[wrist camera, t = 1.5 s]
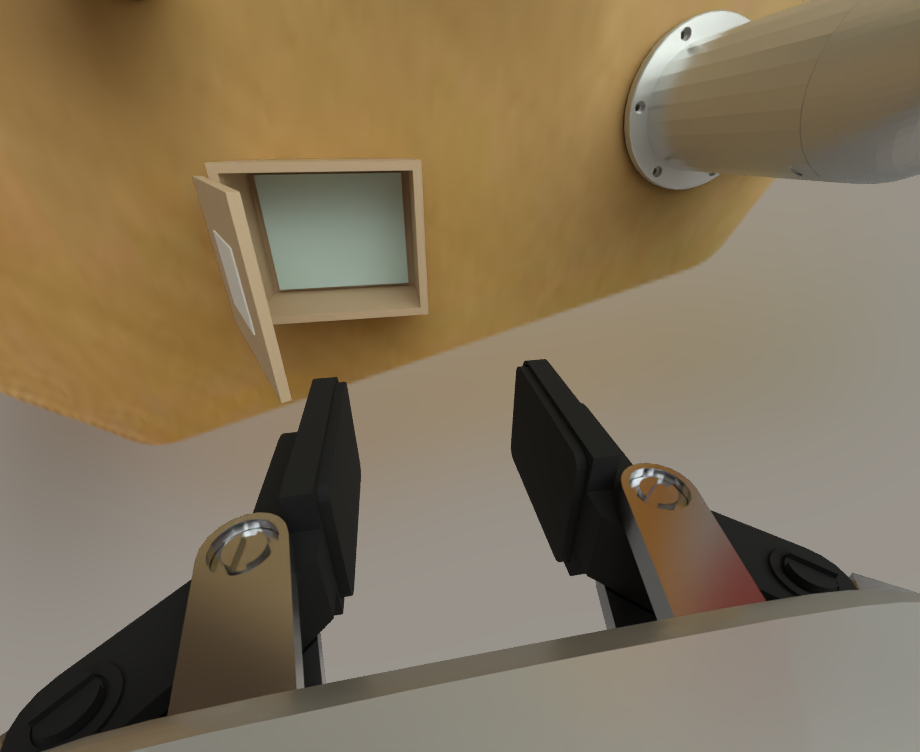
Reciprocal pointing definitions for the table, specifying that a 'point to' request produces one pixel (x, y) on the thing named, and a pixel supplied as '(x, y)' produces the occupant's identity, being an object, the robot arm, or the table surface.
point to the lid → (242, 276)
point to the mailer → (334, 235)
